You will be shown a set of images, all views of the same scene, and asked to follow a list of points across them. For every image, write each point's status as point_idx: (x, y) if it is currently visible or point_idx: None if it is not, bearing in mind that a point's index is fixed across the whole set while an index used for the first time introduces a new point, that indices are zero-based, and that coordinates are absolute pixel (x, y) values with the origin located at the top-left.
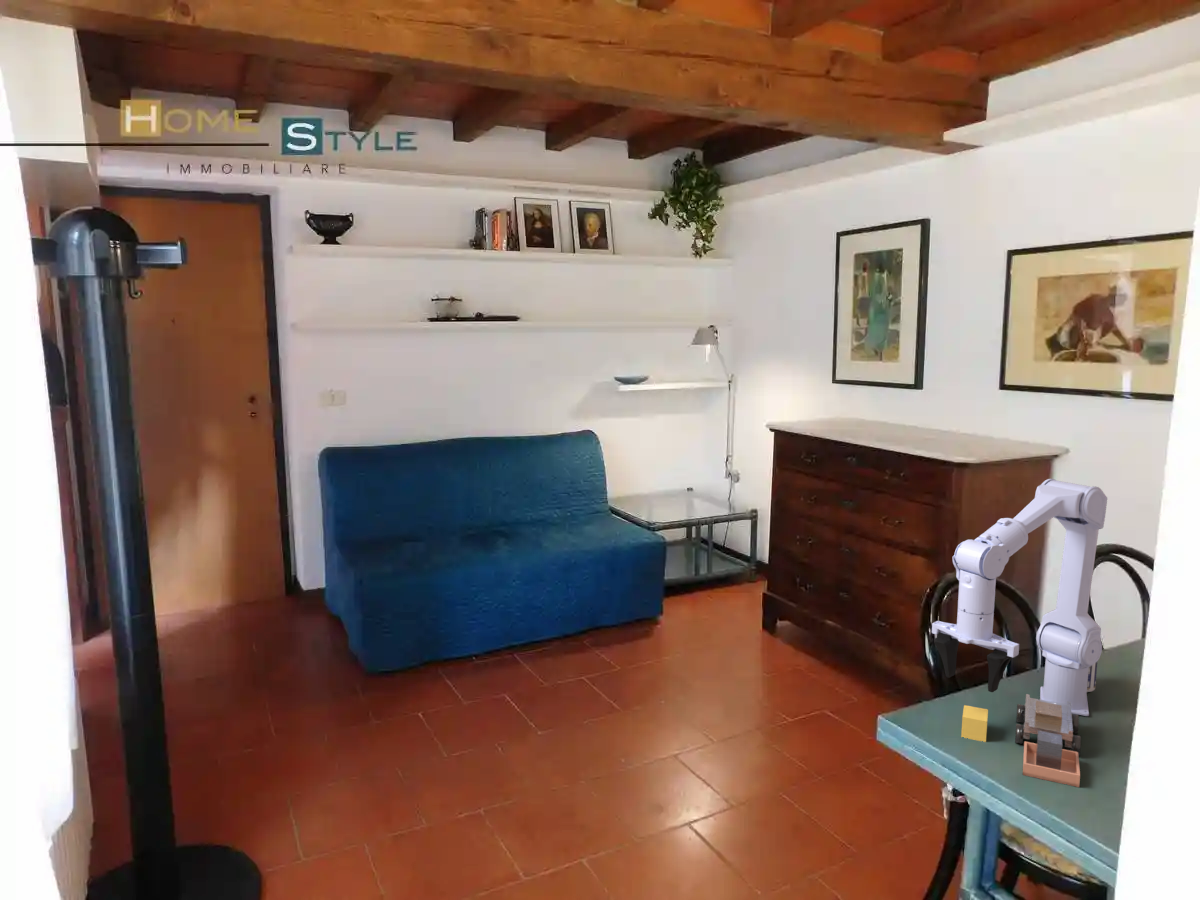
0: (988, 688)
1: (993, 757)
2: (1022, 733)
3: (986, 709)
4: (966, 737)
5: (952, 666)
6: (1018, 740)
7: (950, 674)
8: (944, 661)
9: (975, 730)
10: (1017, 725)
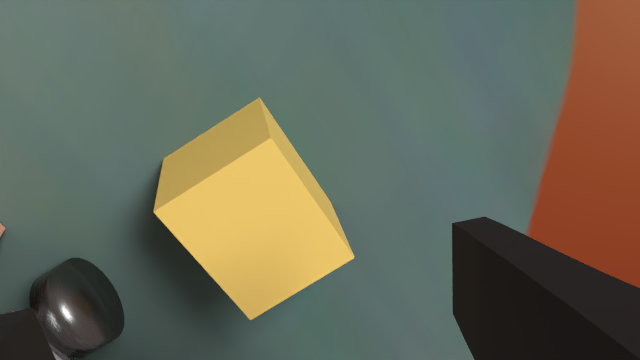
0: (10, 324)
1: (25, 59)
2: (33, 302)
3: (255, 313)
4: (239, 112)
5: (504, 341)
6: (56, 267)
7: (464, 257)
8: (610, 294)
9: (204, 151)
10: (74, 326)
